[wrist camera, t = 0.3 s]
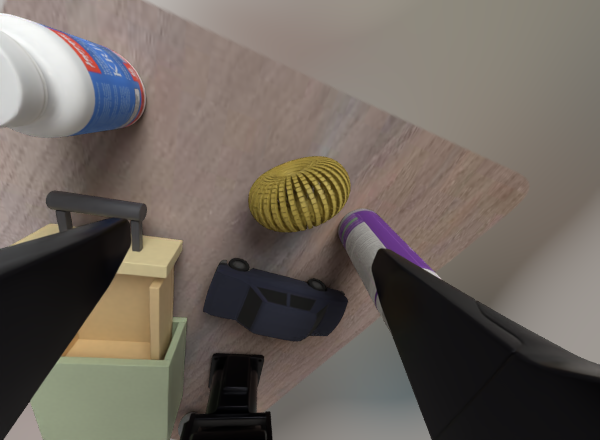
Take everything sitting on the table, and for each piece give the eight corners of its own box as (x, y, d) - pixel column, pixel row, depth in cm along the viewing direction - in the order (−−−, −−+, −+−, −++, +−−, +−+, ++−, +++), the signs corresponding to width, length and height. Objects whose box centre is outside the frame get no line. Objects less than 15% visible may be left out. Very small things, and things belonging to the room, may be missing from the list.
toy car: (220, 251, 25) (210, 283, 21) (345, 284, 29) (359, 317, 25) (206, 294, 27) (194, 331, 23) (324, 320, 31) (334, 356, 27)
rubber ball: (203, 419, 37) (198, 444, 34) (181, 419, 36) (174, 444, 34) (204, 407, 36) (199, 432, 33) (182, 407, 35) (175, 432, 32)
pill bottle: (156, 72, 18) (55, 43, 10) (138, 140, 20) (39, 168, 11) (71, 27, 17) (-145, -56, 8) (60, 105, 18) (-127, 108, 10)
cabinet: (67, 309, 26) (16, 362, 21) (187, 317, 28) (169, 366, 23) (83, 394, 32) (46, 452, 26) (182, 395, 34) (167, 449, 29)
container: (390, 222, 26) (519, 348, 13) (361, 254, 28) (450, 399, 14) (357, 199, 25) (466, 315, 11) (328, 234, 26) (395, 376, 13)
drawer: (40, 175, 20) (-14, 193, 16) (184, 198, 22) (167, 218, 18) (71, 334, 26) (39, 373, 23) (178, 340, 29) (165, 376, 25)
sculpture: (329, 143, 22) (360, 162, 15) (339, 184, 24) (371, 220, 17) (244, 171, 22) (233, 204, 15) (260, 210, 24) (257, 256, 17)
